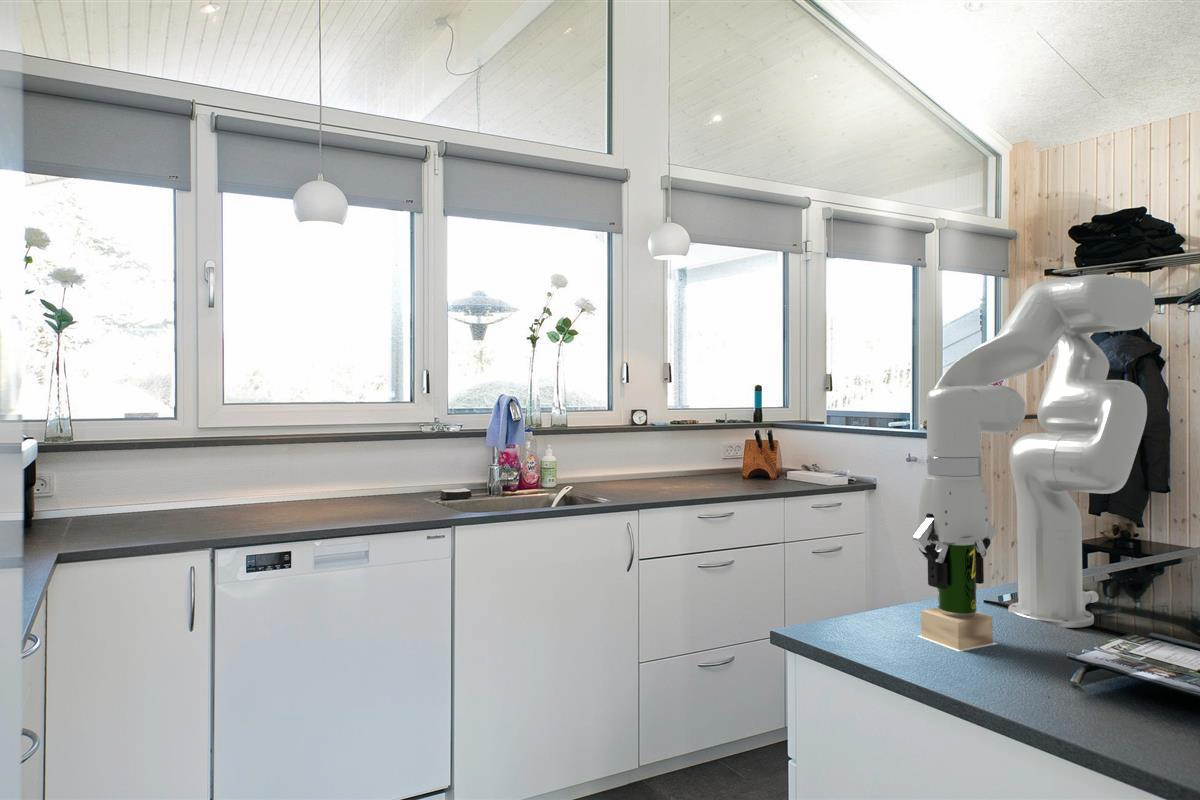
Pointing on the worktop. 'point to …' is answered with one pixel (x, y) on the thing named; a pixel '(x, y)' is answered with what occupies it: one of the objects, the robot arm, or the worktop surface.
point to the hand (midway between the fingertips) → (955, 583)
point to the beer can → (959, 580)
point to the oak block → (957, 629)
